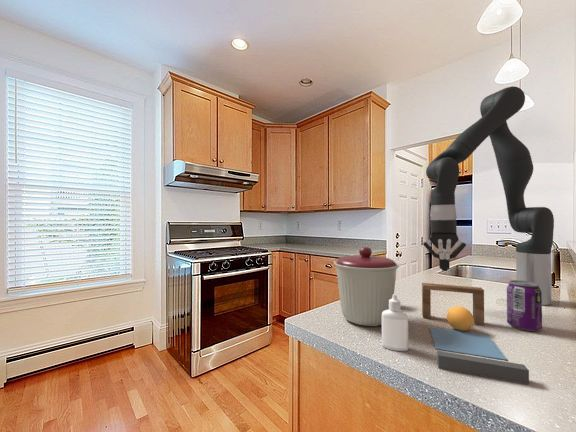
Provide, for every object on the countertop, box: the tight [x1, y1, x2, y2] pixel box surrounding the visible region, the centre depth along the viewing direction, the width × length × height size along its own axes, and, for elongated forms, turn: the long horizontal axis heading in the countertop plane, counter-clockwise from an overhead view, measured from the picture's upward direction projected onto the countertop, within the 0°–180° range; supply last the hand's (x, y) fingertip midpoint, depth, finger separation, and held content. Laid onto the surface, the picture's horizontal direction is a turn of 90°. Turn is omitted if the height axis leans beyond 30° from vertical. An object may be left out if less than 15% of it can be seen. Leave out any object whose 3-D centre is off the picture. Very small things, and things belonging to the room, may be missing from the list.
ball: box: [446, 305, 475, 332], centre depth 71 cm, size 6×6×6 cm
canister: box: [333, 246, 400, 327], centre depth 78 cm, size 18×18×21 cm
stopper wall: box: [436, 350, 530, 385], centre depth 51 cm, size 2×14×2 cm, turn 68°
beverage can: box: [506, 279, 543, 332], centre depth 72 cm, size 7×7×12 cm
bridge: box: [421, 282, 485, 327], centre depth 78 cm, size 3×15×10 cm, turn 68°
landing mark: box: [429, 326, 508, 361], centre depth 64 cm, size 13×13×1 cm
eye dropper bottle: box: [381, 293, 409, 352], centre depth 61 cm, size 4×6×12 cm
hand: (444, 270), depth 90 cm, fingers closed
